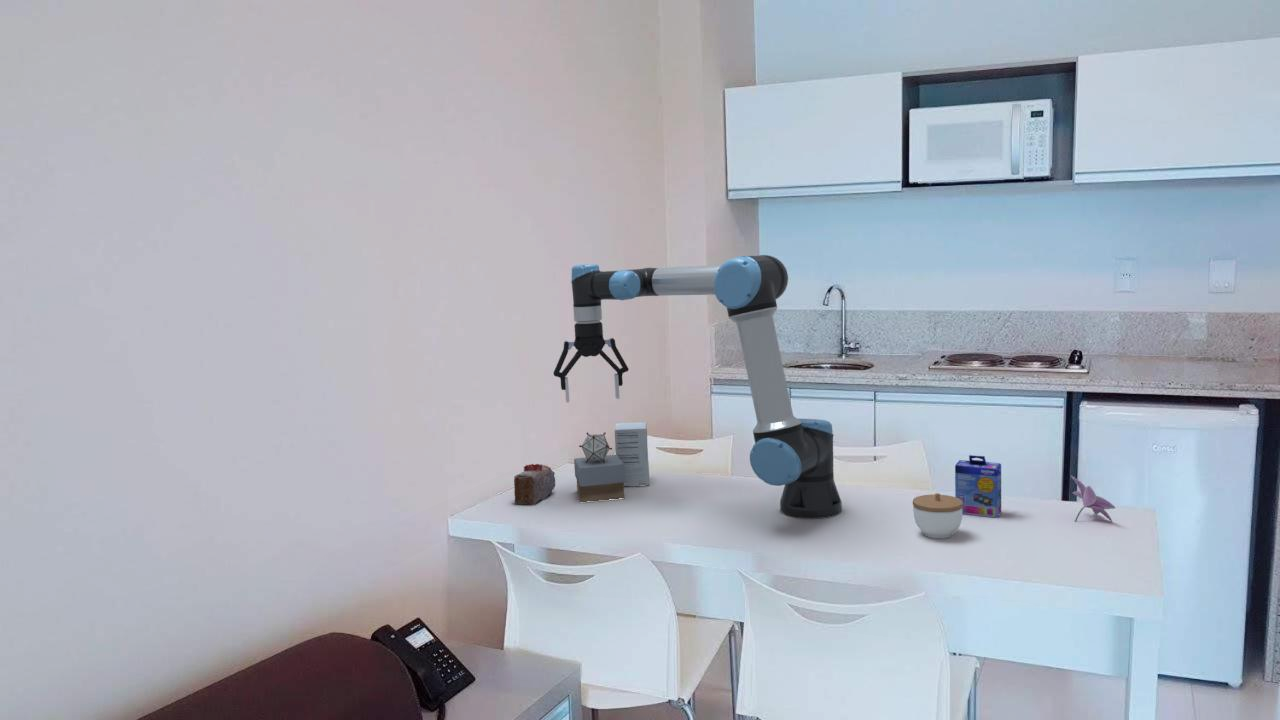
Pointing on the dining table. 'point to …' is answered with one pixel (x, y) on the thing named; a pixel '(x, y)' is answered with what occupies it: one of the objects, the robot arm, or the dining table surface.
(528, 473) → the food item
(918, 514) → the lidded jar
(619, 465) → the tower top
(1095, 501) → the lily
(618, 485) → the tower base
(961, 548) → the dining table surface
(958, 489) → the ink cartridge box
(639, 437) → the supplement box
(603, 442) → the game die
